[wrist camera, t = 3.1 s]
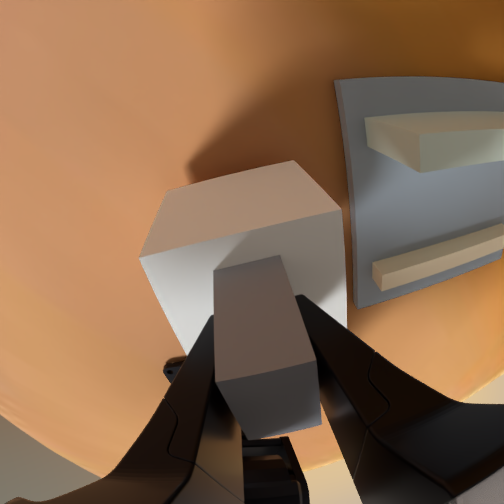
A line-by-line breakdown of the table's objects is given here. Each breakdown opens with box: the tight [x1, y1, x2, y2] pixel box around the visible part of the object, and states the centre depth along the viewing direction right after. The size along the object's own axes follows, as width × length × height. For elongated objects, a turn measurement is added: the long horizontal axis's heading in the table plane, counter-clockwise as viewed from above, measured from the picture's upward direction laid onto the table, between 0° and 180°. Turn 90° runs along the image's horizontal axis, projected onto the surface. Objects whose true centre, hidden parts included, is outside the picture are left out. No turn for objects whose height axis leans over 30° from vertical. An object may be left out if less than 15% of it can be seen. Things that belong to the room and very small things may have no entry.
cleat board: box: [334, 76, 504, 309], centre depth 14 cm, size 14×14×6 cm
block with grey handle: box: [139, 160, 347, 440], centre depth 11 cm, size 5×6×10 cm
